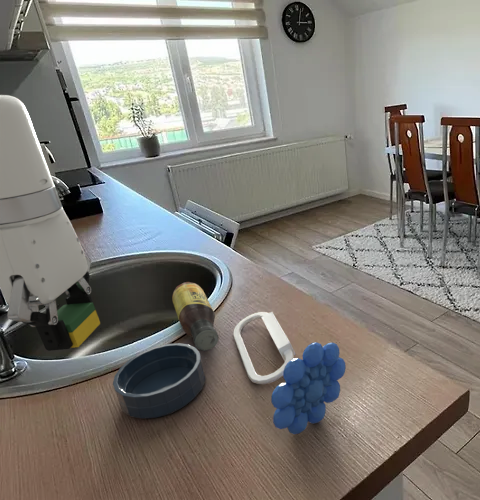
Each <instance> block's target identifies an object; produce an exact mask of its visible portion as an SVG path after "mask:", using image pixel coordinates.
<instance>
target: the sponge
mask: <svg viewBox="0 0 480 500" xmlns="http://www.w3.org/2000/svg"><path fill="white" fill-rule="evenodd" d="M94 306H95V304H94V301H93V302H92V303H80V304H67V303H66V304H63V305H62V306H61V307H60V308H58V309H57V314H58V320H63V321H64V323H65V326H66V329H67V331H68V334H69V336H70V338H71V341H72V343H73V346H72V347H71V348H70V349H75V348H79V347H80V346H81V345H82V344H83V343H84V342H85V341H86V340H87V339H88V338H89V336H90V335H92V333H93V332H95V330H96V329H97V328H98V327H99V326H100V325H101V321H100V317H99V315H98V316H97V314H98V312H97V309H96V306H95V307H94ZM95 309H96V310H95ZM96 312H97V313H96ZM98 317H99V318H98Z"/></svg>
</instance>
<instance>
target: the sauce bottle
mask: <svg viewBox="0 0 480 500" xmlns="http://www.w3.org/2000/svg"><path fill="white" fill-rule="evenodd" d="M171 298H172V304H173V307H174V309H175V313H176V316H177V318H178V322H179V324H180V326H181V328H182V330H183V332H184V333H185V334H186V335H187V336H189V337H192V341H193V345H194V347H195V348H196V349H197V350H200V351H203V352H204V351H205V352H206V351H209V350H212V349H214V348H215V347H216V345H218V343H219V333H218V332H217V330H216V328H215V327H214V323H215V319H216V314H215V311H214V309H213V307H212V305H211V303H210V301H209V298H208V297H207V295H206V293H205V292H204V289H203V288H202V287H201V286H200V285H199V284H197V283H195V282H190V281H186V282H183V283H181V284H179V285H177V286H176V287H175V289H174V290H173V293H172V295H171Z"/></svg>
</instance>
